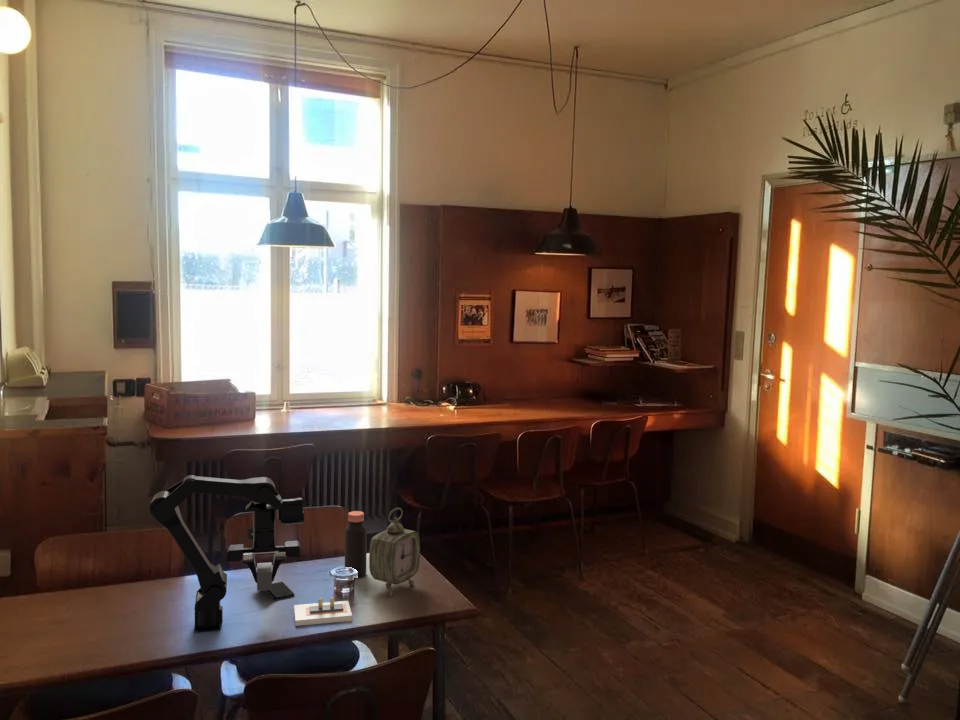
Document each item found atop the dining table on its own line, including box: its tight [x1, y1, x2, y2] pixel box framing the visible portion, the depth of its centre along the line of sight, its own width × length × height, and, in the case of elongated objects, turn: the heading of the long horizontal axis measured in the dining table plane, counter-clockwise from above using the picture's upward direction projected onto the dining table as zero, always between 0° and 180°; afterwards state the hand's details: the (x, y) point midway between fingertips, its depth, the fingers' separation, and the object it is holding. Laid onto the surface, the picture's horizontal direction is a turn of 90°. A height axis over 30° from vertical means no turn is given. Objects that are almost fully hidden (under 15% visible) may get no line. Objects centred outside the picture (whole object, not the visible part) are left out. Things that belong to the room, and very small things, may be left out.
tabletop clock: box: [368, 507, 421, 598], centre depth 232 cm, size 14×9×25 cm, turn 150°
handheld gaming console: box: [265, 581, 295, 601], centre depth 227 cm, size 12×7×10 cm
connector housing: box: [256, 561, 273, 592], centre depth 208 cm, size 7×4×5 cm, turn 15°
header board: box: [293, 596, 353, 627], centre depth 213 cm, size 15×10×5 cm, turn 105°
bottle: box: [344, 510, 368, 579], centre depth 242 cm, size 7×7×20 cm
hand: (264, 581), depth 208 cm, fingers closed on connector housing, 4 cm apart
